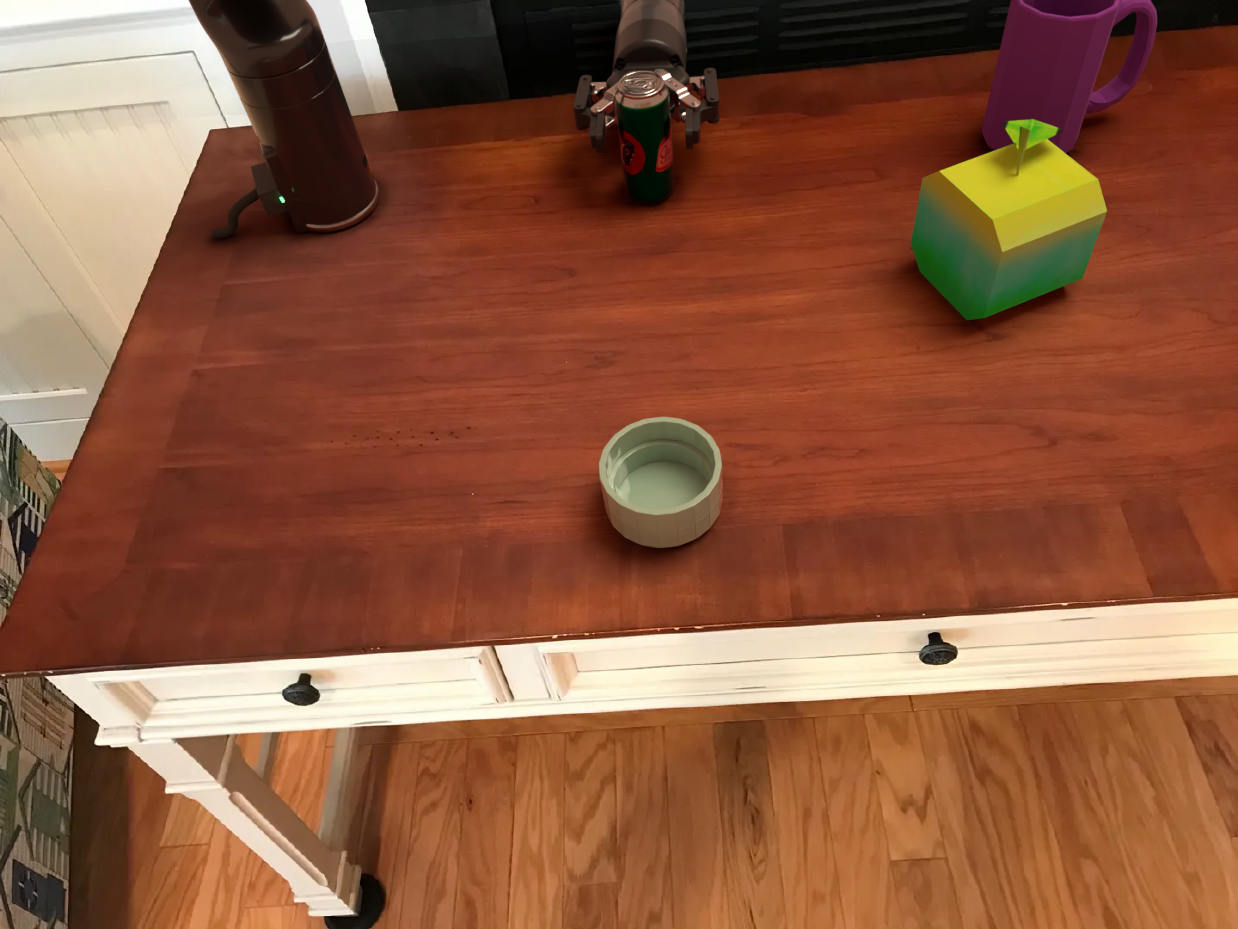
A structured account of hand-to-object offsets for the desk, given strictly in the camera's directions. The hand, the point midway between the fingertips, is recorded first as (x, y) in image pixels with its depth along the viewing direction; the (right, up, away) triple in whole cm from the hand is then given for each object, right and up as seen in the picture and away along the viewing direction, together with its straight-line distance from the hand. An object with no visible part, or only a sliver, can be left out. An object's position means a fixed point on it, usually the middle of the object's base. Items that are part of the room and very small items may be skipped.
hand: (644, 143), depth 93 cm
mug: (+42, +3, +6) cm, 42 cm away
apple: (+31, -14, -6) cm, 34 cm away
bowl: (+1, -33, -17) cm, 38 cm away
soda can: (+1, -3, +6) cm, 7 cm away
